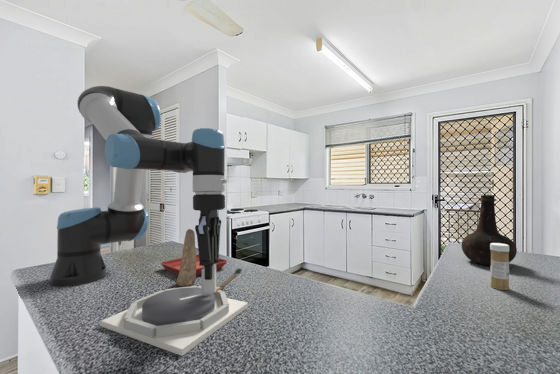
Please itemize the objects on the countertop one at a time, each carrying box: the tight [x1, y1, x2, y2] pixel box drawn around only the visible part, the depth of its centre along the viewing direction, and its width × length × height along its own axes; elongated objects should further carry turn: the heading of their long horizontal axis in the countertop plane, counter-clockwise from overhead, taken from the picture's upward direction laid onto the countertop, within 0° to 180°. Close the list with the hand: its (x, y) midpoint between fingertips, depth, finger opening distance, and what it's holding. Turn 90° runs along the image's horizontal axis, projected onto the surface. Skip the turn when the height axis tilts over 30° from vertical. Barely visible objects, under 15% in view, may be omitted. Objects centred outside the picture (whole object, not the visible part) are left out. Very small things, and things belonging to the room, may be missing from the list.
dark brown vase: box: [460, 194, 518, 267], centre depth 109 cm, size 18×18×28 cm
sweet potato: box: [175, 228, 197, 288], centre depth 84 cm, size 6×18×6 cm
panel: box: [100, 285, 249, 357], centre depth 63 cm, size 24×22×4 cm
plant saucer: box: [160, 254, 228, 276], centre depth 101 cm, size 18×18×3 cm
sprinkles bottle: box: [490, 243, 510, 291], centre depth 82 cm, size 5×5×14 cm
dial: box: [142, 269, 215, 326], centre depth 63 cm, size 16×16×8 cm
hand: (210, 291), depth 64 cm, fingers closed
